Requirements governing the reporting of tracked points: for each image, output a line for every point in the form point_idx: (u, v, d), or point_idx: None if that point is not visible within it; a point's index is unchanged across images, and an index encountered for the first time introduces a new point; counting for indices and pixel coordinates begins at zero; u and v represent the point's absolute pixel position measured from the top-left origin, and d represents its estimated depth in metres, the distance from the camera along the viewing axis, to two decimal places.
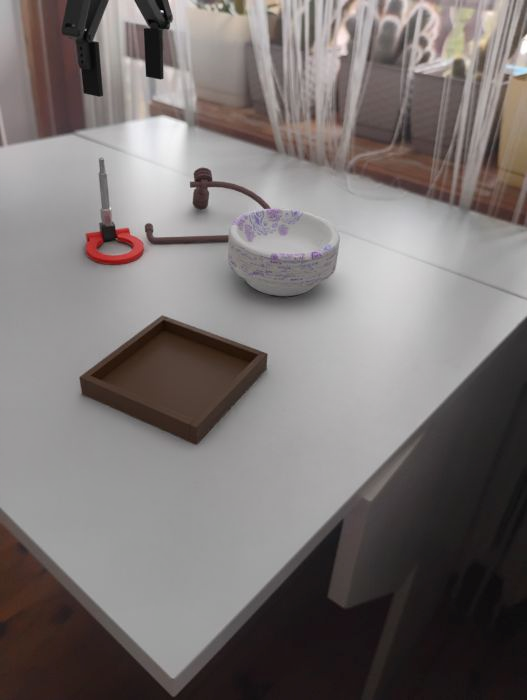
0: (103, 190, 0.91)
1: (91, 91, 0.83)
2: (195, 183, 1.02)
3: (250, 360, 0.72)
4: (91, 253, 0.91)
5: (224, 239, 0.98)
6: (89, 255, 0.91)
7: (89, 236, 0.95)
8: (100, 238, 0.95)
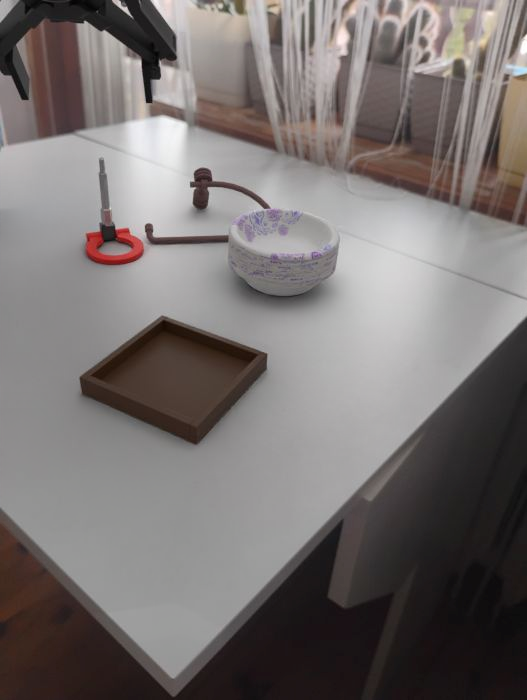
0: (103, 190, 0.91)
1: None
2: (195, 183, 1.02)
3: (250, 360, 0.72)
4: (91, 253, 0.91)
5: (224, 239, 0.98)
6: (89, 255, 0.91)
7: (89, 236, 0.95)
8: (100, 238, 0.95)
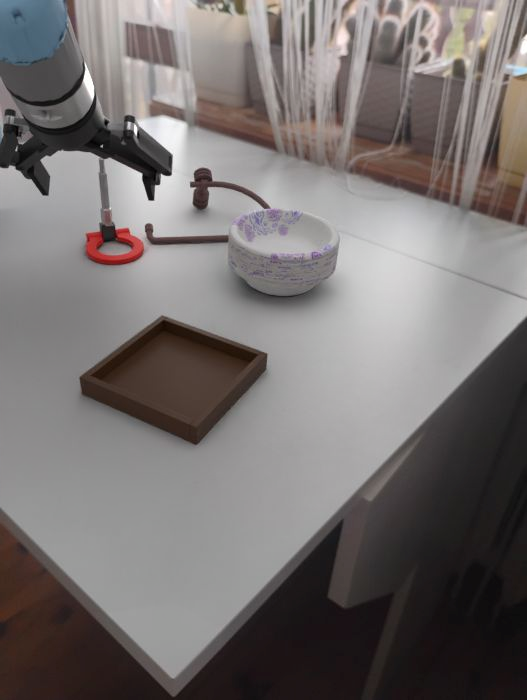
0: (103, 190, 0.91)
1: None
2: (195, 183, 1.02)
3: (250, 360, 0.72)
4: (91, 253, 0.91)
5: (224, 239, 0.98)
6: (89, 255, 0.91)
7: (89, 236, 0.95)
8: (100, 238, 0.95)
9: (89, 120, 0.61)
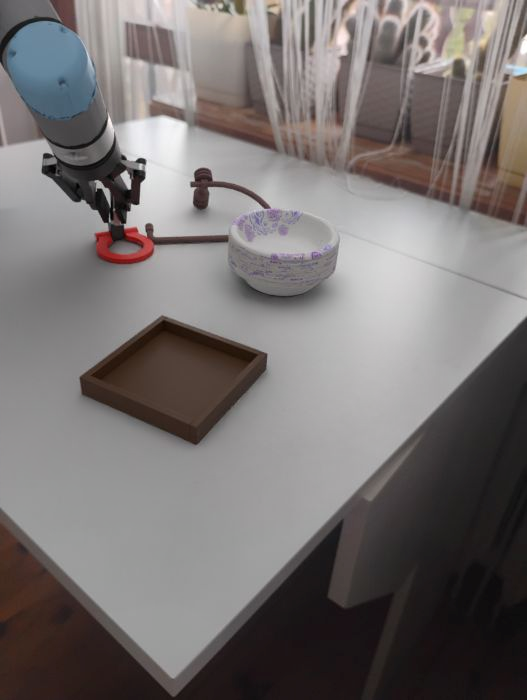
0: None
1: None
2: (195, 183, 1.02)
3: (250, 360, 0.72)
4: (102, 252, 0.92)
5: (225, 239, 0.98)
6: (100, 255, 0.92)
7: (98, 236, 0.95)
8: (109, 238, 0.95)
9: (110, 157, 0.73)
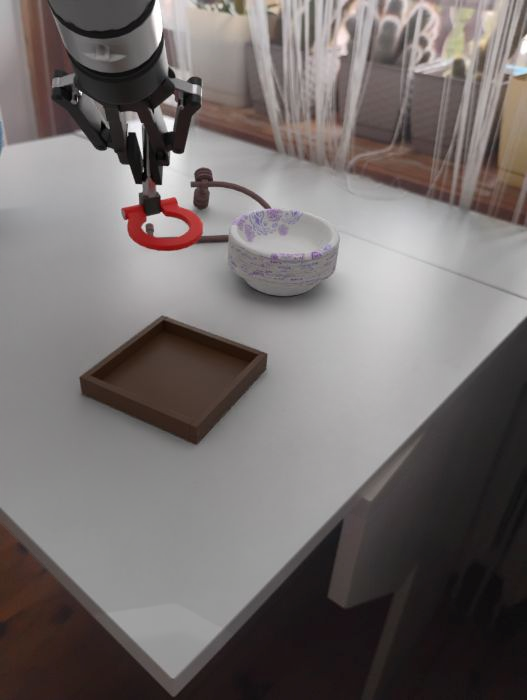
0: (148, 149, 0.68)
1: None
2: (196, 183, 1.02)
3: (250, 360, 0.72)
4: (138, 237, 0.68)
5: (225, 239, 0.99)
6: (135, 240, 0.68)
7: (128, 212, 0.71)
8: (143, 214, 0.71)
9: (155, 64, 0.48)
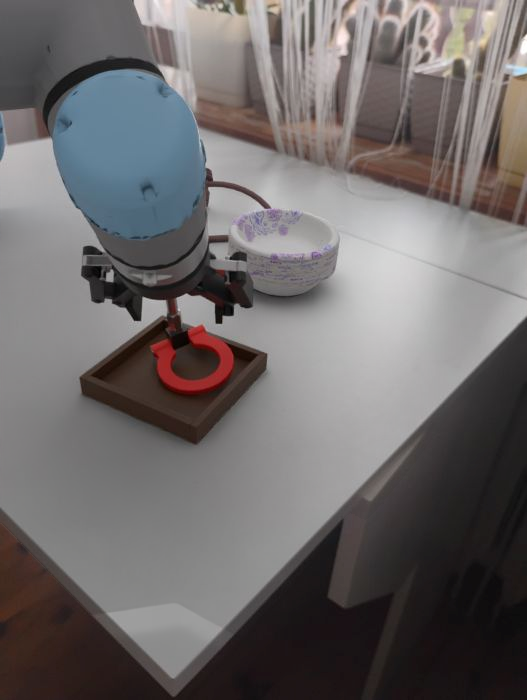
0: None
1: None
2: None
3: (250, 360, 0.72)
4: (169, 382, 0.67)
5: (225, 239, 0.99)
6: (166, 385, 0.67)
7: (156, 350, 0.70)
8: (171, 351, 0.70)
9: (200, 268, 0.46)
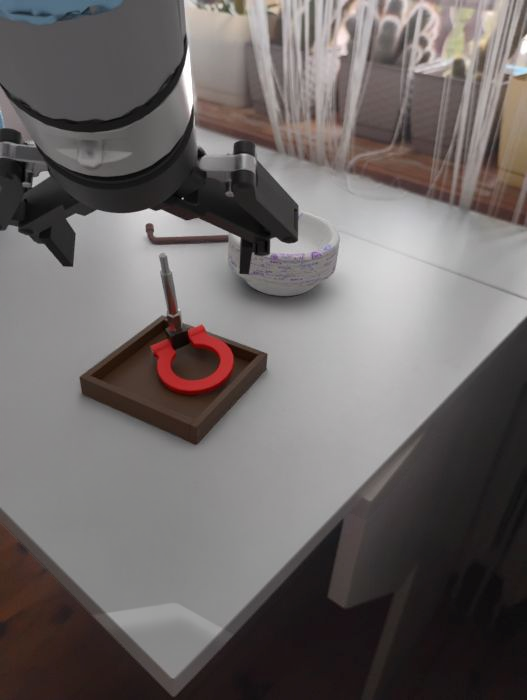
0: (169, 293, 0.66)
1: None
2: None
3: (250, 360, 0.72)
4: (169, 382, 0.67)
5: (225, 239, 0.99)
6: (166, 385, 0.67)
7: (156, 350, 0.70)
8: (171, 351, 0.70)
9: (180, 156, 0.29)
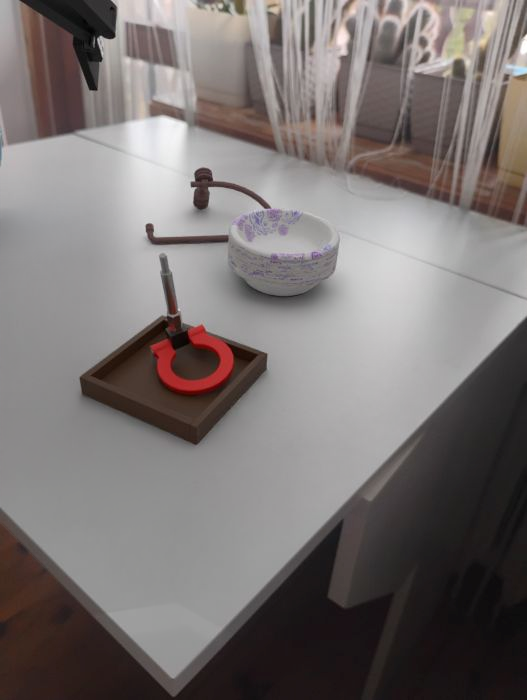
0: (169, 293, 0.66)
1: None
2: (196, 183, 1.02)
3: (250, 360, 0.72)
4: (169, 382, 0.67)
5: (225, 239, 0.99)
6: (166, 385, 0.67)
7: (156, 350, 0.70)
8: (171, 351, 0.70)
9: None
